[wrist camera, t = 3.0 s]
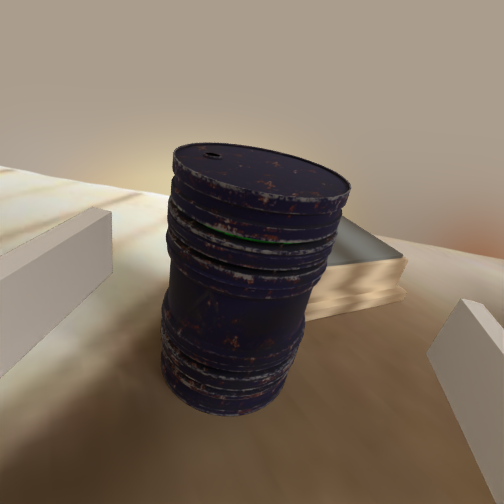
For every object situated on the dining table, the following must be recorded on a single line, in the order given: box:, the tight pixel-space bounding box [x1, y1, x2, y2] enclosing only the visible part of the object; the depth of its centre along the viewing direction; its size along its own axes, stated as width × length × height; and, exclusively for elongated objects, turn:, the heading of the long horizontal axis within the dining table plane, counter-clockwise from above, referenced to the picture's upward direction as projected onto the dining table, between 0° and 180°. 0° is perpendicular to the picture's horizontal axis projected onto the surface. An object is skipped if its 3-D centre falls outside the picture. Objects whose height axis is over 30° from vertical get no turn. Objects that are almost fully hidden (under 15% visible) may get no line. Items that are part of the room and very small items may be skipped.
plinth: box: [305, 216, 408, 321], centre depth 38 cm, size 16×16×5 cm
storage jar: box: [161, 143, 351, 416], centre depth 21 cm, size 10×10×15 cm
